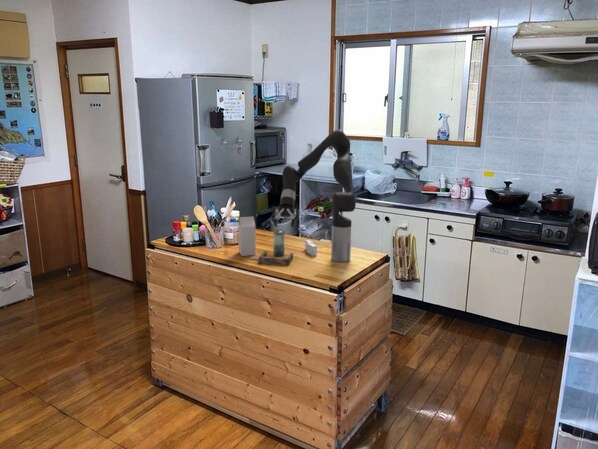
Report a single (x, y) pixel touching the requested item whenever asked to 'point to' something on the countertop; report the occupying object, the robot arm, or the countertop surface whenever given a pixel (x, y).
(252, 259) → the terracotta tag
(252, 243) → the milk carton
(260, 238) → the countertop surface
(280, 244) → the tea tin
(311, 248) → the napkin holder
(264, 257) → the dock
